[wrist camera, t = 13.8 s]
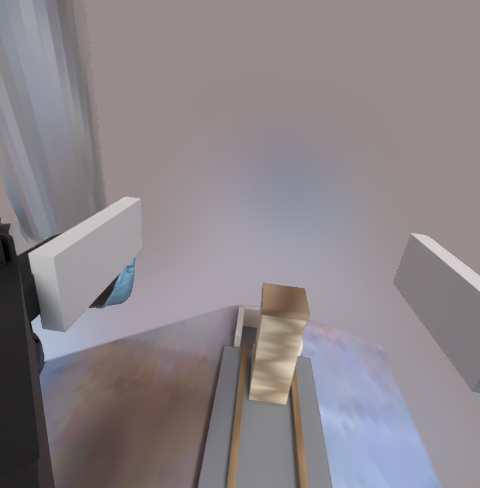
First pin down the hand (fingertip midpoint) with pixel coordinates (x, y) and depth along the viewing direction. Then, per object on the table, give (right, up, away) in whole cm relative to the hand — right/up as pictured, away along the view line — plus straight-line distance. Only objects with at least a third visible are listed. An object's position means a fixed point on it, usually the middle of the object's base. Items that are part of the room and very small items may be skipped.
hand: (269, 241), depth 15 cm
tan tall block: (+3, -20, +29) cm, 35 cm away
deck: (+2, -25, +23) cm, 34 cm away
